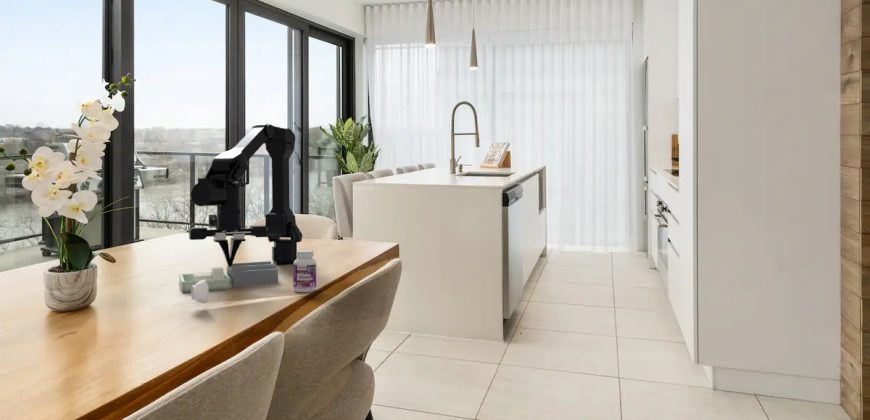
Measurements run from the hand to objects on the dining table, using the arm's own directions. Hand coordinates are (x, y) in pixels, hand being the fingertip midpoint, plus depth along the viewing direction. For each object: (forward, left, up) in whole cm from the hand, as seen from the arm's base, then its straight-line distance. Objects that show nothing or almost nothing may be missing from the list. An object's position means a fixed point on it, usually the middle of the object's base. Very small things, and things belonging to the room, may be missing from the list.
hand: (229, 265), depth 144 cm
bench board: (-5, 0, -5) cm, 7 cm away
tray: (+6, 0, -5) cm, 8 cm away
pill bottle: (-15, +18, -5) cm, 24 cm away
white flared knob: (+9, +23, -5) cm, 25 cm away
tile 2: (+2, 0, -2) cm, 3 cm away
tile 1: (+7, 0, -2) cm, 7 cm away
